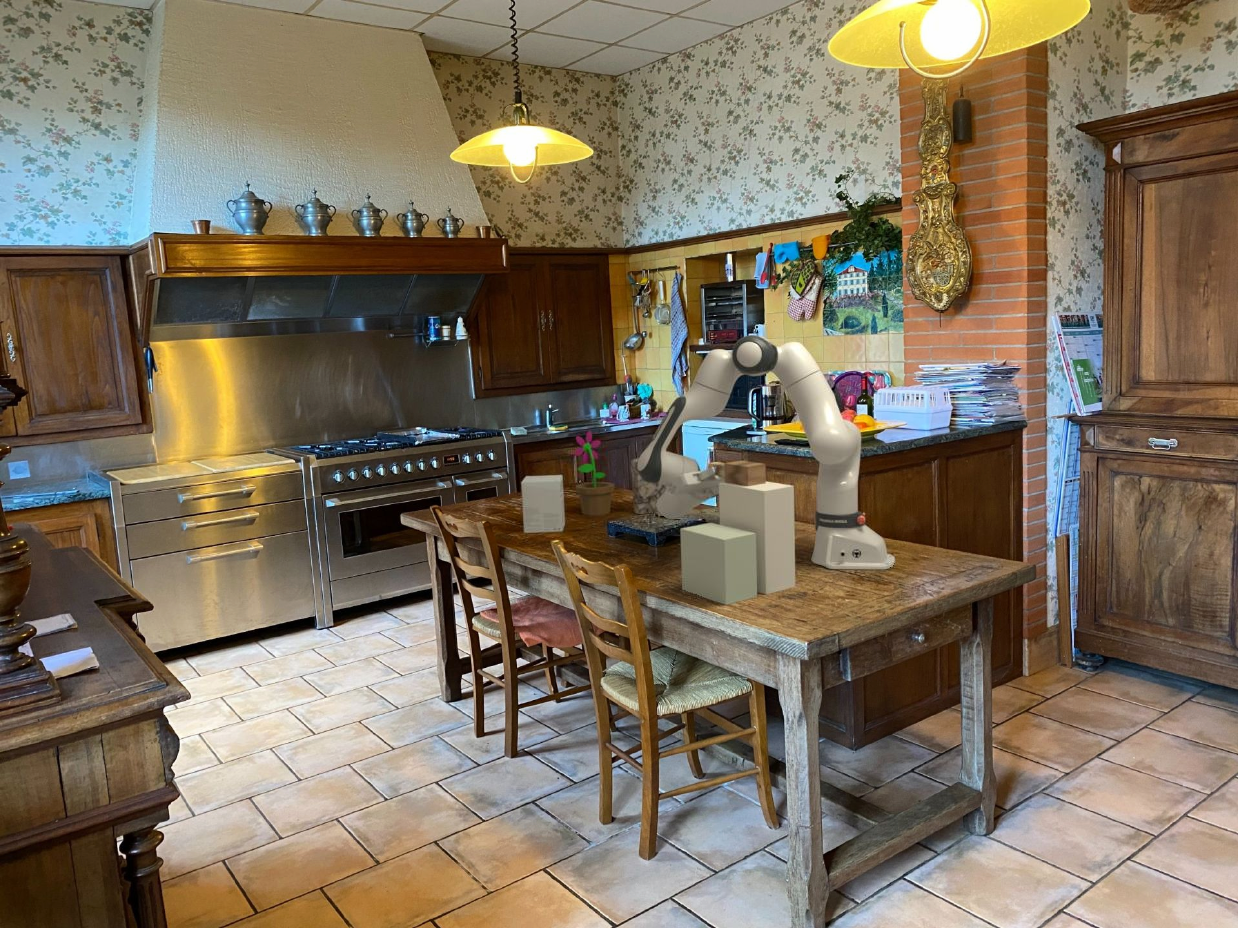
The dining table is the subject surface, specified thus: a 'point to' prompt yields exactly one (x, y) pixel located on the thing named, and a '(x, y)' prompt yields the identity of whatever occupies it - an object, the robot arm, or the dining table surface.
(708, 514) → the long grey stone
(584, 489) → the flowerpot
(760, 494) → the stand
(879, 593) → the dining table surface
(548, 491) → the supplement box
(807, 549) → the dining table surface
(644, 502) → the stone block
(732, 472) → the mallet
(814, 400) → the robot arm
